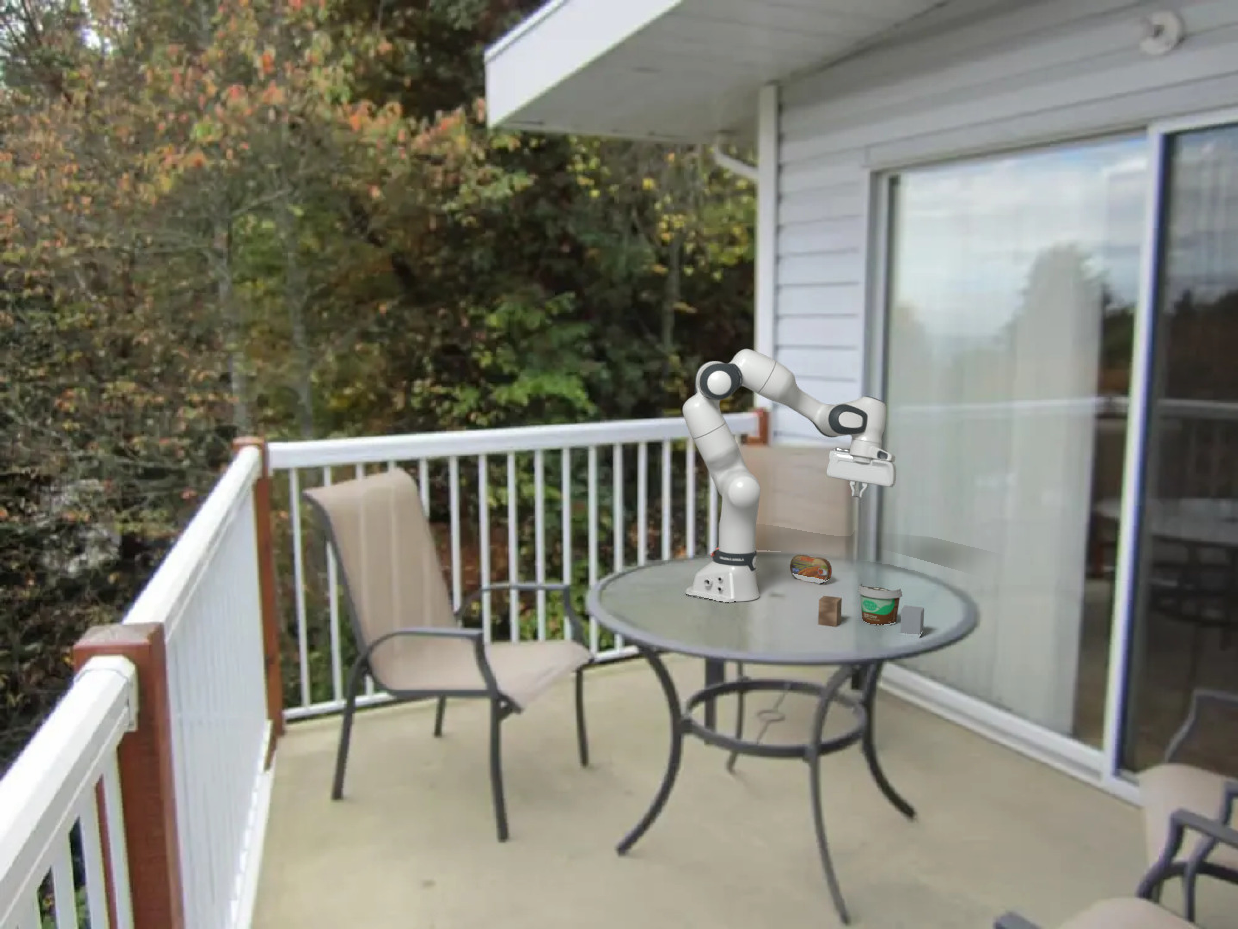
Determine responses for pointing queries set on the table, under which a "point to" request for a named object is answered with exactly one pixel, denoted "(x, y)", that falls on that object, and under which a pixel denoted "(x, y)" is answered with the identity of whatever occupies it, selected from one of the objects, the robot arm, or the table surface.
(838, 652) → the table surface
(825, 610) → the walnut block
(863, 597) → the food container
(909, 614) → the slate block
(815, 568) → the tin
